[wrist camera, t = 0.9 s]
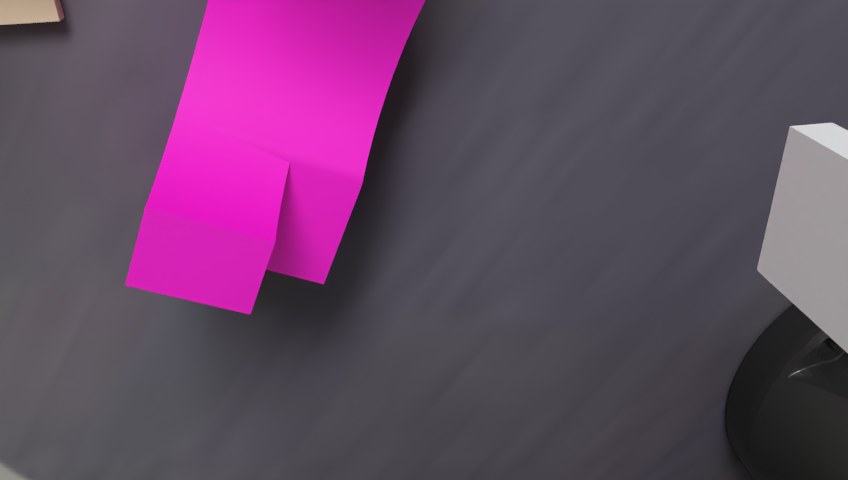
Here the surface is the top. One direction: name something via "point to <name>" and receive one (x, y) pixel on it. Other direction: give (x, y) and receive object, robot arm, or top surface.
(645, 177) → the top surface
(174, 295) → the toy block
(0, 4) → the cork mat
